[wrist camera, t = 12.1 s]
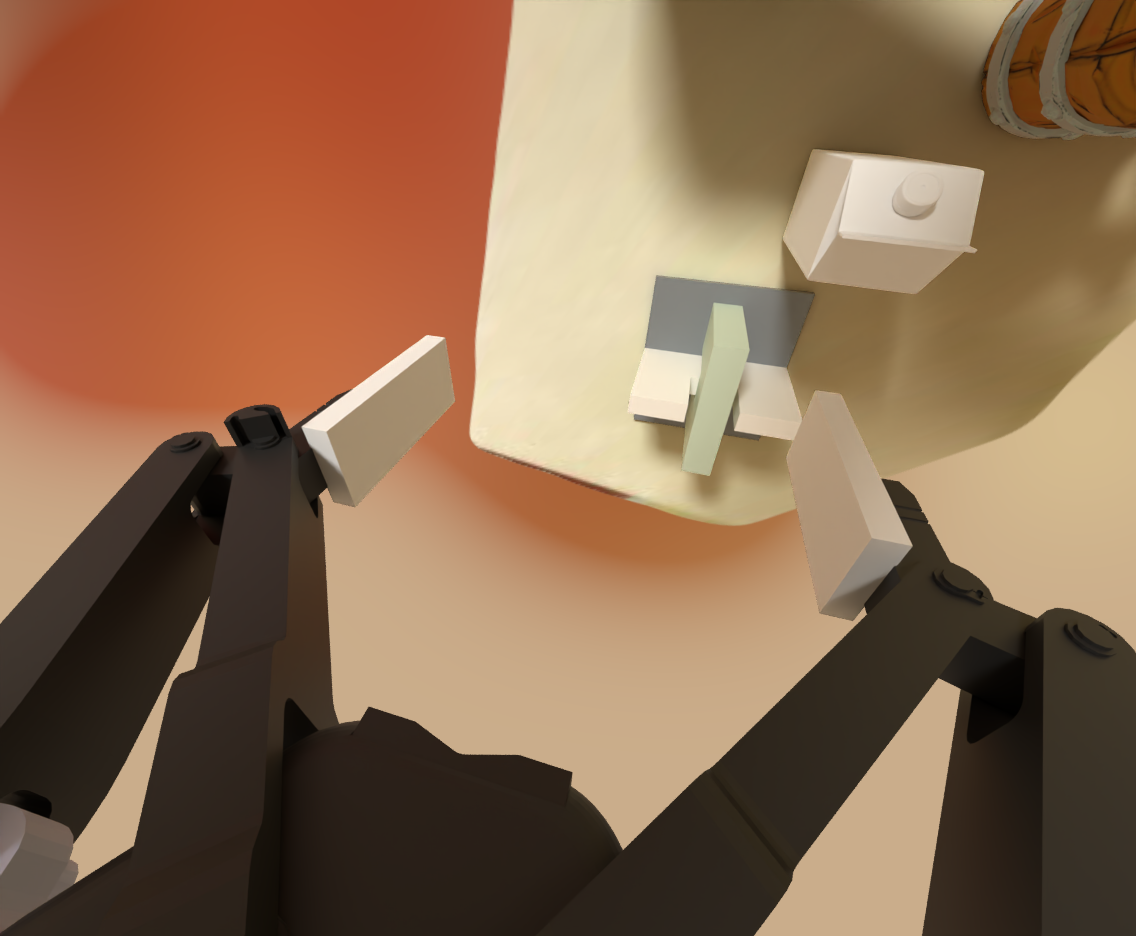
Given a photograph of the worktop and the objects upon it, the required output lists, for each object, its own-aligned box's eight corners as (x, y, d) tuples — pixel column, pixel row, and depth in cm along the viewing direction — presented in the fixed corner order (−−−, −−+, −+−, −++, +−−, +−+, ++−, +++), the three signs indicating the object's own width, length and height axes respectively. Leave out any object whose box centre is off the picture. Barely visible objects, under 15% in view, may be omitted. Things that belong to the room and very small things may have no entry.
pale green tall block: (713, 302, 46) (713, 345, 37) (742, 305, 46) (749, 350, 37) (686, 414, 55) (680, 470, 46) (710, 417, 55) (709, 476, 46)
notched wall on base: (634, 416, 58) (618, 473, 49) (656, 275, 47) (642, 313, 37) (758, 437, 55) (767, 502, 46) (813, 292, 44) (841, 338, 35)
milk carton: (859, 248, 41) (939, 314, 27) (781, 239, 42) (816, 297, 28) (900, 155, 36) (1023, 175, 22) (811, 148, 38) (872, 162, 23)
